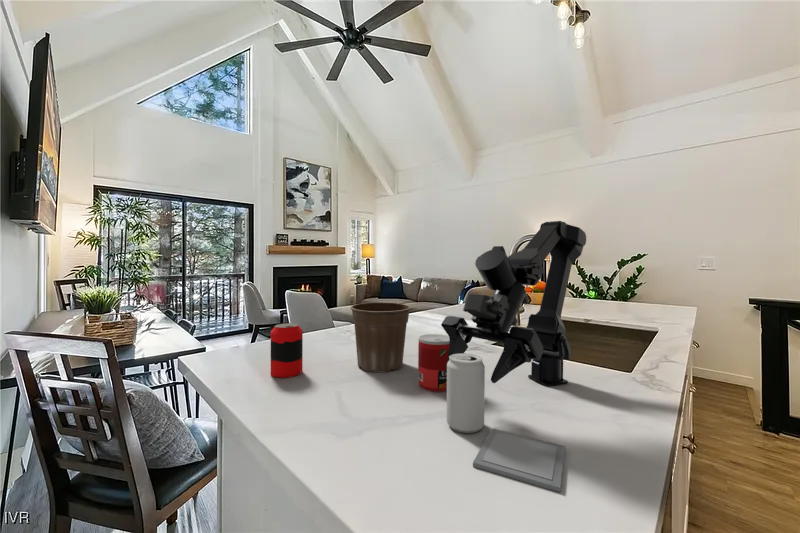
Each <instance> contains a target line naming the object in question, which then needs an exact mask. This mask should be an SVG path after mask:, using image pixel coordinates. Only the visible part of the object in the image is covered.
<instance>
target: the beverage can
mask: <svg viewBox="0 0 800 533" xmlns="http://www.w3.org/2000/svg"><path fill="white" fill-rule="evenodd" d="M449 359H450V360H449V361H448V363H447V391H446V423H447V425H449V427H450V428H451V429H453V430H454V431H455V432H458V433H463V434H474V433H476V432H479V431H480V430H481V429H483V427H484V425H485V388H486V387H485V386H486V383H485V380H486V379H485V378H486V376H485V373H486V372H485V371H486V369H485V368H486V365H485V364H484V363H483V357H482V356H480V355H478V354H473V353H466V352H464V353H459V354H453V355H450V356H449Z"/></svg>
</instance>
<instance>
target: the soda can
mask: <svg viewBox="0 0 800 533" xmlns="http://www.w3.org/2000/svg"><path fill="white" fill-rule="evenodd" d="M303 334H304V333H303V329H302V327H301V326H300V325H299V323H293V322H292V323H290V322H289V323H279V324H276V325H274V327H273V328H272V330H271V331H270V375H271V376H272V377H274V378H275V379H276V378H278V379H289V378H293V377H297V376H299V375H300V374H302V372H303V342H304V341H303V340H304V339H303Z"/></svg>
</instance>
